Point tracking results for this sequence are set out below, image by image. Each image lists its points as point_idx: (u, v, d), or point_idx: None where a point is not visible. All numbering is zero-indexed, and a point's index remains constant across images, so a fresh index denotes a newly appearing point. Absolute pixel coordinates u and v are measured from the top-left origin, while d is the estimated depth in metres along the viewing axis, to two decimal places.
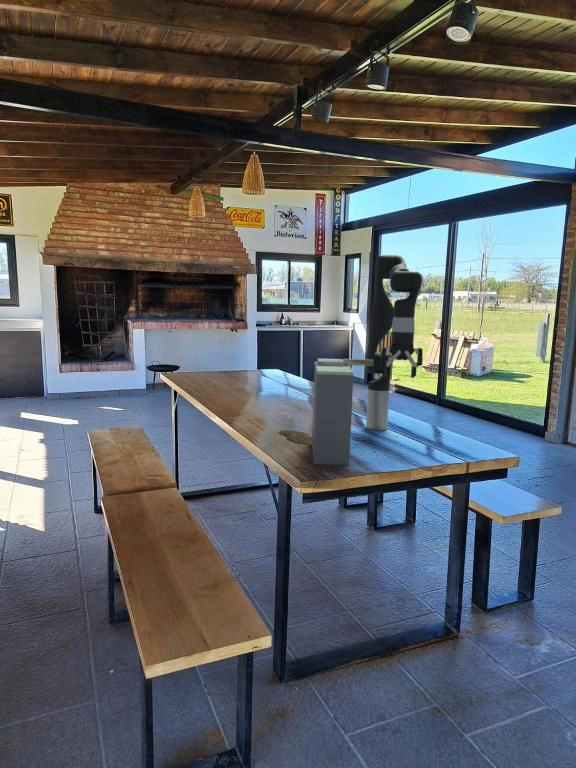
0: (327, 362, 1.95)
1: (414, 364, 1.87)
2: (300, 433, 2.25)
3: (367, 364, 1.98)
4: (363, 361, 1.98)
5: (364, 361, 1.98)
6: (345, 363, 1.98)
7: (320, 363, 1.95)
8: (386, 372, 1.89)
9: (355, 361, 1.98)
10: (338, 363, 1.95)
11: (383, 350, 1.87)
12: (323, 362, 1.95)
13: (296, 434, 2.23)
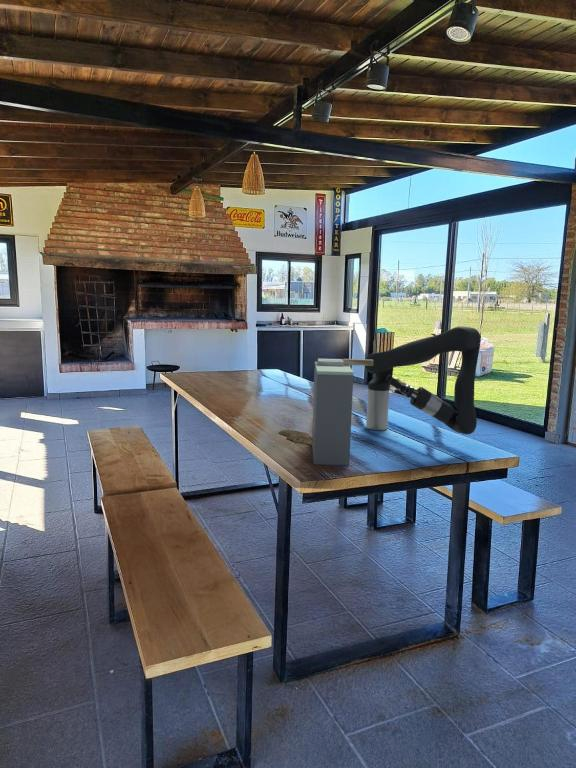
0: (327, 362, 1.95)
1: None
2: (300, 433, 2.25)
3: (367, 364, 1.98)
4: (363, 361, 1.98)
5: (364, 361, 1.98)
6: (345, 363, 1.98)
7: (320, 363, 1.95)
8: (394, 385, 1.95)
9: (355, 361, 1.98)
10: (338, 363, 1.95)
11: (412, 398, 1.94)
12: (323, 362, 1.95)
13: (296, 434, 2.23)
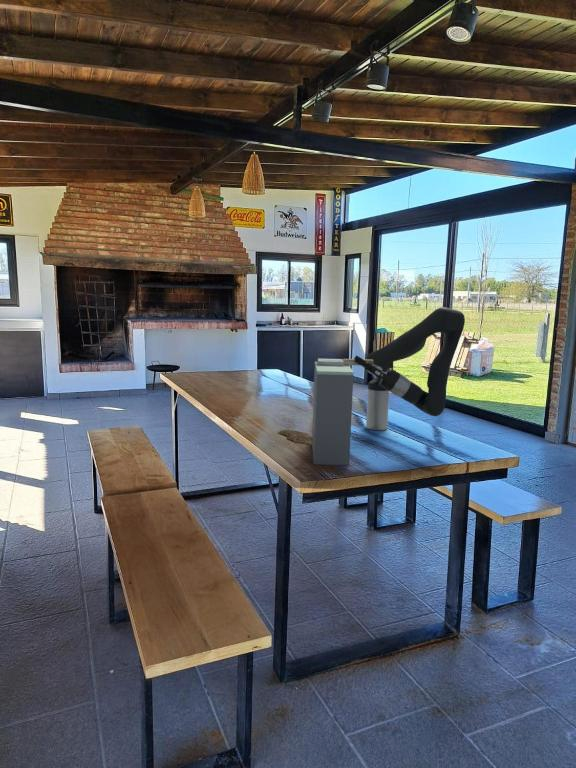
0: (327, 362, 1.95)
1: None
2: (300, 433, 2.25)
3: None
4: None
5: None
6: (345, 363, 1.98)
7: (320, 363, 1.95)
8: (358, 362, 1.97)
9: None
10: (338, 363, 1.95)
11: (375, 375, 1.94)
12: (323, 362, 1.95)
13: (296, 434, 2.23)
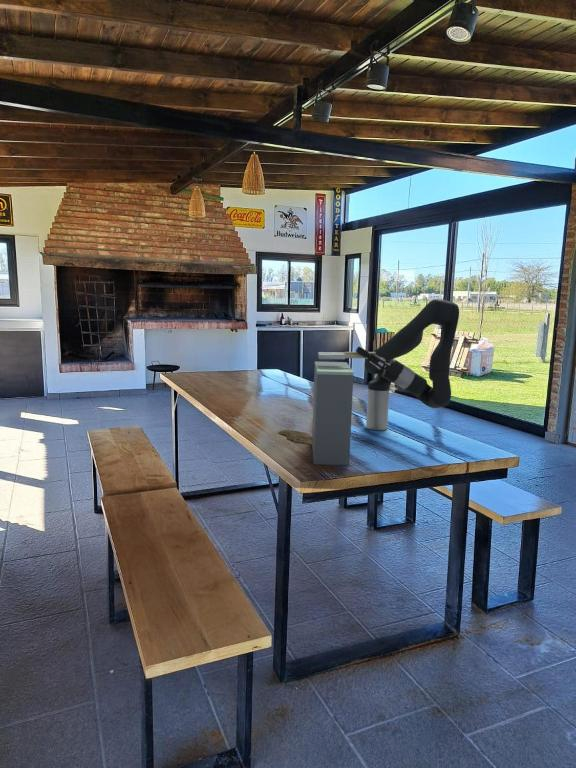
0: (328, 355, 1.89)
1: None
2: (300, 433, 2.25)
3: None
4: None
5: None
6: (346, 356, 1.92)
7: (321, 357, 1.89)
8: (361, 353, 1.91)
9: (357, 354, 1.92)
10: (339, 356, 1.89)
11: (378, 366, 1.87)
12: (324, 355, 1.89)
13: (296, 434, 2.23)
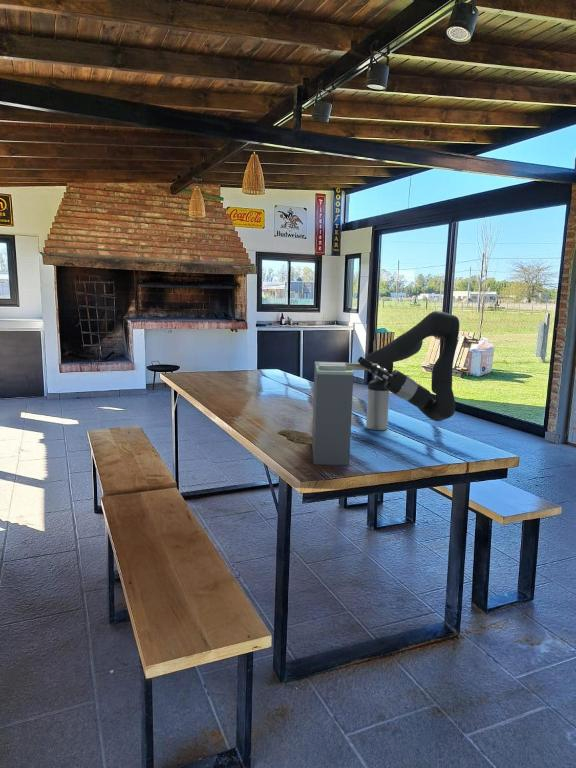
0: (329, 366, 1.83)
1: None
2: (300, 433, 2.25)
3: None
4: None
5: None
6: (348, 367, 1.86)
7: (321, 368, 1.83)
8: (364, 365, 1.83)
9: (358, 365, 1.86)
10: (340, 368, 1.83)
11: (383, 379, 1.81)
12: (324, 366, 1.83)
13: (296, 434, 2.23)
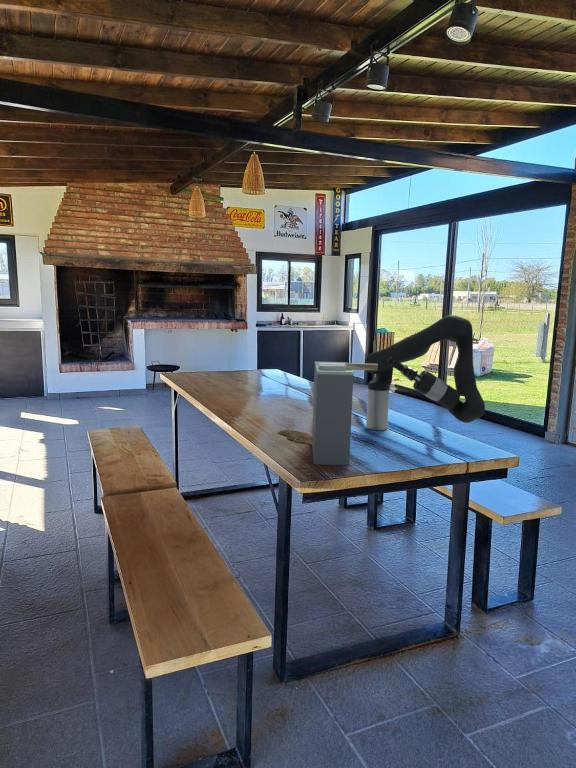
0: (329, 366, 1.83)
1: None
2: (300, 433, 2.25)
3: (371, 369, 1.86)
4: (367, 365, 1.86)
5: (368, 365, 1.86)
6: (348, 367, 1.86)
7: (321, 368, 1.83)
8: (396, 367, 1.82)
9: (358, 365, 1.86)
10: (340, 368, 1.83)
11: (415, 381, 1.81)
12: (324, 366, 1.83)
13: (296, 434, 2.23)
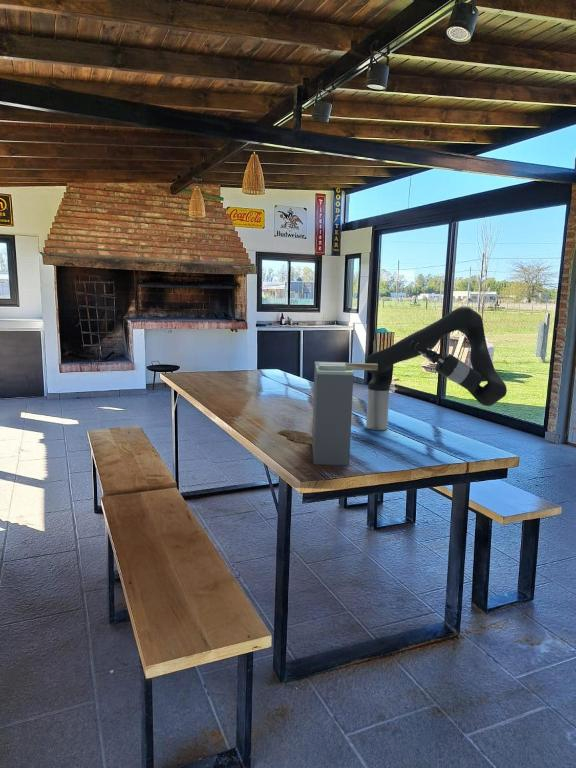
0: (329, 366, 1.83)
1: (420, 352, 1.93)
2: (300, 433, 2.25)
3: (371, 369, 1.86)
4: (367, 365, 1.86)
5: (368, 365, 1.86)
6: (348, 367, 1.86)
7: (321, 368, 1.83)
8: (419, 349, 1.84)
9: (358, 365, 1.86)
10: (340, 368, 1.83)
11: (438, 363, 1.83)
12: (324, 366, 1.83)
13: (296, 434, 2.23)
